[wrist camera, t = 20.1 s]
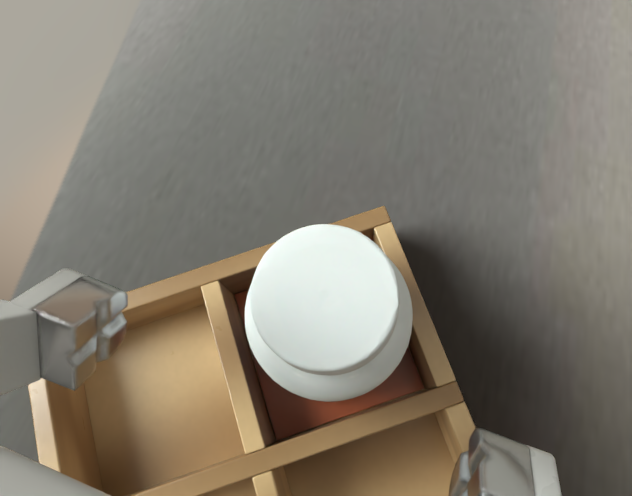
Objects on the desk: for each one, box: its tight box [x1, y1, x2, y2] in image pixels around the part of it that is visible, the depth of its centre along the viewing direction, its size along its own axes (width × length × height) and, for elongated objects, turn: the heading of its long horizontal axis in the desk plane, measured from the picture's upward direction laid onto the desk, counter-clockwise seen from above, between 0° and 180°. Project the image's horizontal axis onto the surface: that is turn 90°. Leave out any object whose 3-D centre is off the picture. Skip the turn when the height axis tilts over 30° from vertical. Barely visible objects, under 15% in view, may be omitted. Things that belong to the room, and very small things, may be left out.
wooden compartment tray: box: [28, 206, 476, 496], centre depth 20 cm, size 16×16×4 cm
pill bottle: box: [245, 224, 413, 402], centre depth 18 cm, size 5×5×10 cm
